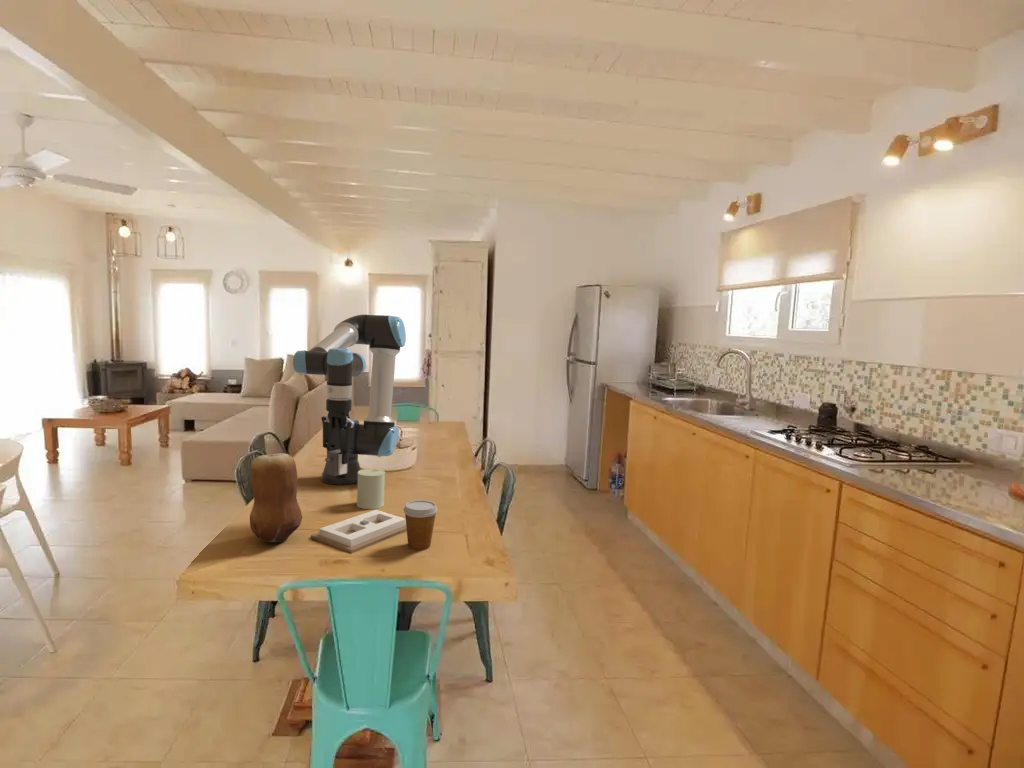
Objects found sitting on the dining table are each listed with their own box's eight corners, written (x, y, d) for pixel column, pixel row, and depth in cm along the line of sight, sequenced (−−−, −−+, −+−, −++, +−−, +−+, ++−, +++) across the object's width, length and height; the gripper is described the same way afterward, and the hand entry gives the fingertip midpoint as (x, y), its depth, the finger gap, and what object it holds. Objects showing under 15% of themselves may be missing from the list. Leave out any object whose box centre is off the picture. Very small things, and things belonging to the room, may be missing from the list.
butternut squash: (263, 530, 170) (264, 447, 167) (308, 533, 169) (309, 449, 167) (239, 549, 156) (240, 458, 153) (288, 552, 156) (289, 461, 153)
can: (389, 503, 200) (390, 469, 199) (374, 511, 191) (375, 475, 190) (366, 499, 203) (367, 465, 202) (351, 506, 194) (351, 472, 193)
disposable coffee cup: (404, 539, 169) (405, 499, 168) (436, 539, 170) (438, 500, 168) (400, 552, 160) (401, 510, 158) (435, 552, 160) (437, 511, 159)
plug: (321, 474, 179) (322, 452, 178) (339, 470, 184) (339, 449, 184) (330, 477, 177) (330, 454, 176) (347, 473, 182) (348, 451, 182)
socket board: (310, 537, 166) (310, 526, 166) (374, 515, 187) (374, 505, 187) (351, 553, 157) (352, 541, 157) (414, 527, 178) (414, 517, 178)
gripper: (311, 396, 180) (309, 469, 183) (348, 402, 171) (346, 479, 173) (330, 394, 187) (329, 465, 189) (367, 400, 177) (365, 475, 180)
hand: (337, 472), depth 181 cm, fingers closed on plug, 4 cm apart
